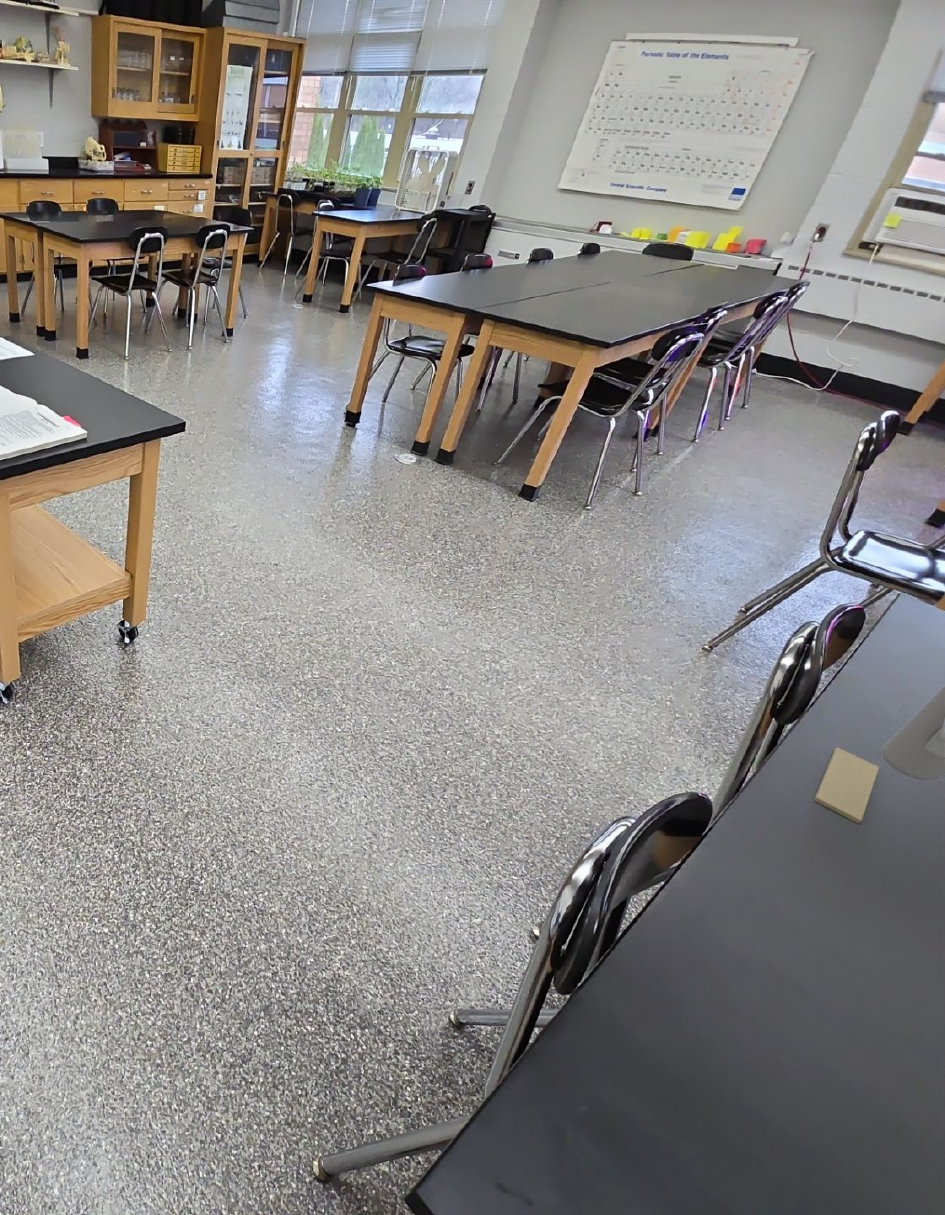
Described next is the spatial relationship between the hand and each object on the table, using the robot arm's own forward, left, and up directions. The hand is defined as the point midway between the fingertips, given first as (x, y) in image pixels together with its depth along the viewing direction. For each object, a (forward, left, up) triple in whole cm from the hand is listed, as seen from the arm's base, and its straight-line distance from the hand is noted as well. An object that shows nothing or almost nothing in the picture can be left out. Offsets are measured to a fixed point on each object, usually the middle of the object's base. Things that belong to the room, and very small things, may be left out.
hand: (938, 735), depth 73 cm
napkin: (-5, -12, -18) cm, 23 cm away
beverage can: (0, 0, -5) cm, 5 cm away
